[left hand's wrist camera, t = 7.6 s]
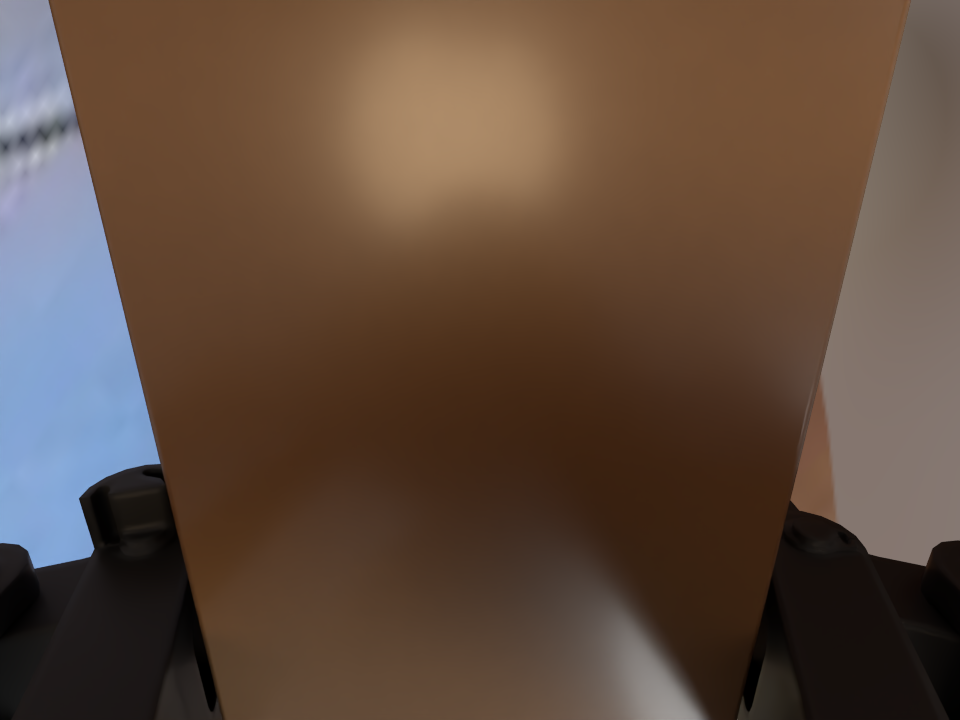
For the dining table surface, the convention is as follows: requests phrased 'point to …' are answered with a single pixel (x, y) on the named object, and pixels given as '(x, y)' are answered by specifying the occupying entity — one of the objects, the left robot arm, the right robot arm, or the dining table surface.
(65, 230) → the dining table surface
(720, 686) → the bar
